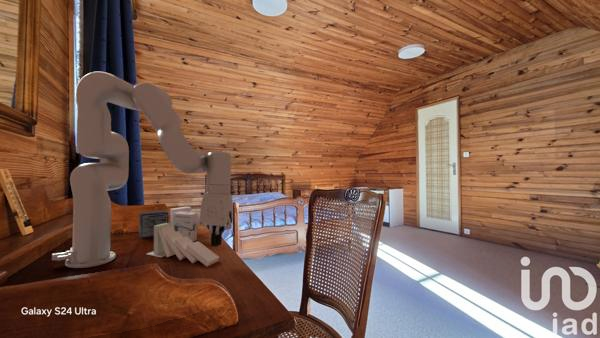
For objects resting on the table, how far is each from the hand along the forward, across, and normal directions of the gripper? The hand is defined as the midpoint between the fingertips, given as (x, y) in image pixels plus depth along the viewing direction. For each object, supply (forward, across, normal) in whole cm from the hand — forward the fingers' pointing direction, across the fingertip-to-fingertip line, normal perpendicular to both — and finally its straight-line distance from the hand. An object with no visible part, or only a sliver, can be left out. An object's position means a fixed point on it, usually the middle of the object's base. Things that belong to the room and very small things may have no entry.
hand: (216, 245), depth 85 cm
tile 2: (+6, -7, 0) cm, 9 cm away
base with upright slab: (+7, -37, +21) cm, 43 cm away
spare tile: (+6, -24, 0) cm, 24 cm away
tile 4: (+6, -18, 0) cm, 19 cm away
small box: (+7, -45, +14) cm, 48 cm away
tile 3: (+6, -12, 0) cm, 13 cm away
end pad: (+6, -24, 0) cm, 24 cm away
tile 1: (+6, -1, 0) cm, 6 cm away
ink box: (+7, -28, +15) cm, 32 cm away
